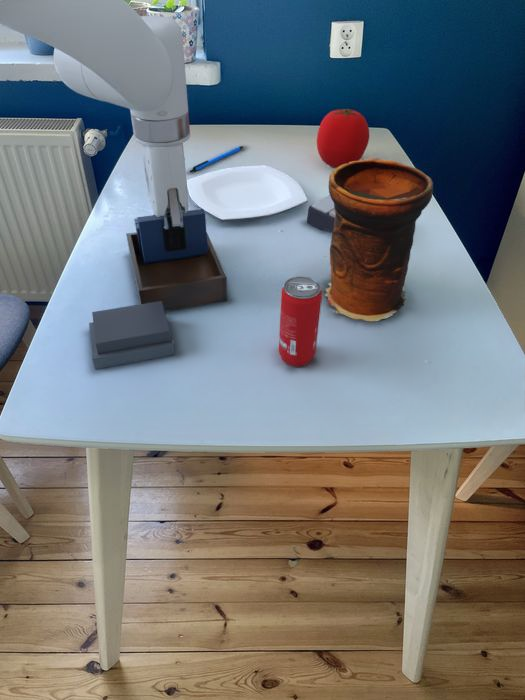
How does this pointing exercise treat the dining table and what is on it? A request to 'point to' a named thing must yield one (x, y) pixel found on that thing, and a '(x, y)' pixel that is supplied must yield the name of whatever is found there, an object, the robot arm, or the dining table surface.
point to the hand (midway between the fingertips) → (174, 244)
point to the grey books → (130, 335)
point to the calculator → (322, 214)
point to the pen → (215, 159)
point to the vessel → (373, 235)
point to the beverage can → (299, 320)
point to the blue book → (155, 240)
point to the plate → (245, 192)
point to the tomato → (342, 137)
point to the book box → (179, 279)
